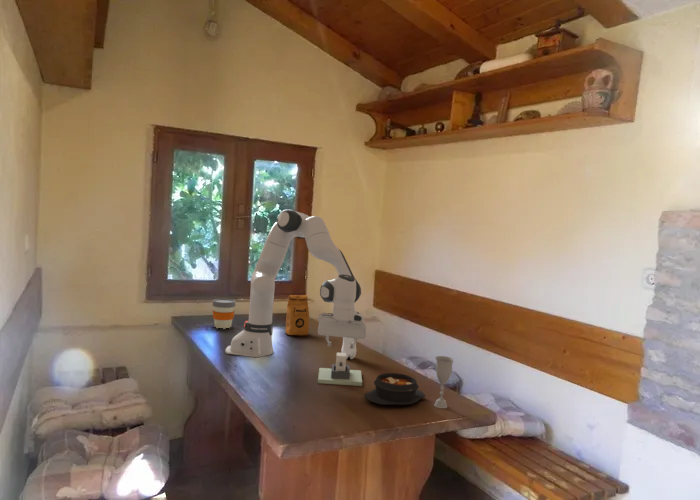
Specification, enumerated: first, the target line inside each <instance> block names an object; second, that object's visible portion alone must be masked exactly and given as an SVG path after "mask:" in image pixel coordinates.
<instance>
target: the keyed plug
mask: <svg viewBox="0 0 700 500" xmlns="http://www.w3.org/2000/svg"><path fill="white" fill-rule="evenodd" d="M335 359H336V360H335V364H336V371H345V369H346V365H347V359H346V353H341V352H336V358H335Z"/></svg>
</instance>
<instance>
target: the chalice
mask: <svg viewBox="0 0 700 500" xmlns="http://www.w3.org/2000/svg"><path fill="white" fill-rule="evenodd" d="M435 360H436V364H435V372H436V377H437V380H438V381H439V382H438V383H440V384H441V385H440V387H439V388H440V392H439V398H436V400H435V402H434V404H433V406H434V407H435V408H437V409H447V408H448V404H447V401H446V400H445V399H444V397H443V396H444V394H445V392H444V390H445V386H444V385H445V384H447V383H448V381H449V380H450V378H451V375H452V372H453V363H454V361H455V359H454V358H452V357H450V356H445V355H444V356H443V355H438V356H435Z"/></svg>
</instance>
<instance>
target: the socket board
mask: <svg viewBox="0 0 700 500" xmlns="http://www.w3.org/2000/svg"><path fill="white" fill-rule="evenodd" d="M350 368H351V367H350V364H346V369H345V371H336V363H332V364H331V368H328V367H319V369H318V376H317V377H318V378H317V384H325V385H326V384H327V385H339V386H340V385H343V386H344V385H345V386H354V387H355V386H356V387H357V386H358V387H363V379H362V378H363V377H362V370H359V369H350Z"/></svg>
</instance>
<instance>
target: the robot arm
mask: <svg viewBox="0 0 700 500" xmlns="http://www.w3.org/2000/svg"><path fill="white" fill-rule="evenodd" d="M295 237H297V239H299V240H302V239H303V240H305V243H306V247H307V250H308V252H309V253H310V254H311V256H312V257H314V258H315V259H318V260H322V261H324V262H325V263H328V264H329V265H332V266H333V267H334V268H335V270H336V272H337V274H338V275H337V276H336V277H335V278H333V279H329V280H324V281H323V282H322V284H321V285H320V289H319V295H320V297H321V299H322V300H323V301H324V302H325V303H330V304H331V303H332V304H333V308H332V312H327V313H326V312H322V313H319V314H318V316H317V321H318V322H317V323H318V327H317V334H318V335H319V336H325V340H326V342H327V347H332V341H330V340H329V339H330V337H337V338H343V337H347V338H354V342H353V343H351V344H350V348H352V349H354V344H355V343H356V344H357V342H358V339H361V340H364V339H365V338H366V337H367V327H366V326H367V325H366V322H365V319H366V318H365V317H366V316H365V315H364V313H362V312H359V311H357V310H356V306H355V303H356V302H357V301H358V300H359V299H360V297H361V296H362V295H361V294H362V288H361V285H360V284H359V282H358V280H357V279H356V277H355V276H354V274H353V272H352V270H351V268H350V265H349V263H348V261H347V259H346V257H345V255H344V253H343V251H342V250H341V249H339V248H338V247H337V245H336V244H335V243H334V242H333V240H332V237H331V235H330V232H329V230H328V227H327V225H326V223H325V220H324V219H323V218H322V217H320V216H319V215H313V216H309V215H308V214H306V213H304V212H299V211H296V210H293V209H283V210H281V211H280V213H279V214H278V215H277V219H276V221H275V223H273V226H272V227H271V229H270V230H269V232H268V235H267V236H266V238H265V242H264V245H263V247H262V249H261V252H260V255H259V258H258V260H257V261H256V263H255V264H256V265H255V267H254V270H253V272H252V274H251V278H250V293H249V294H250V295H249V307H248V308H249V309H248V320H245V321H244V323H243V330H241V331H240V332H238V333H237V334H236V335H235V336H233V337H232V339H231V342H230V345H228V346H226V347H225V353H226V354H228V355H235V356H244V357H252V358H259V357H263V356H264V357H265V356H270V355H271V354H274V348H273V347H274V346H273V339H272V338H273V337H272V336H273V331H274V326H273V325H274V324H273V310H274V302H275V289H276V282H275V281H276V278H277V276H278V273H279V272H280V269H281V267H282V265H283V263H284V259H285V257H286V254H287V252H288V249H289V247H290V244H291V242H292V240H293V239H294V238H295Z"/></svg>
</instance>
